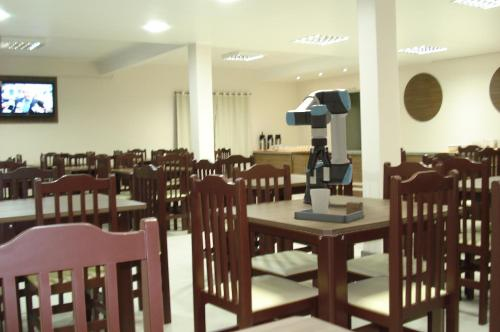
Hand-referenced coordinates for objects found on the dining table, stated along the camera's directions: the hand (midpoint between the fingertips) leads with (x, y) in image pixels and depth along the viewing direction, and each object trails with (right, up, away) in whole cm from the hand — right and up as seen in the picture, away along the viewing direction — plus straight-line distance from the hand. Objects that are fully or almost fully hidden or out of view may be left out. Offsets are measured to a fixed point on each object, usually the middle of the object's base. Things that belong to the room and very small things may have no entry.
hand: (319, 182), depth 258 cm
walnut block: (+18, -16, +6) cm, 25 cm away
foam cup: (0, -17, +1) cm, 17 cm away
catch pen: (+4, -17, -2) cm, 17 cm away
